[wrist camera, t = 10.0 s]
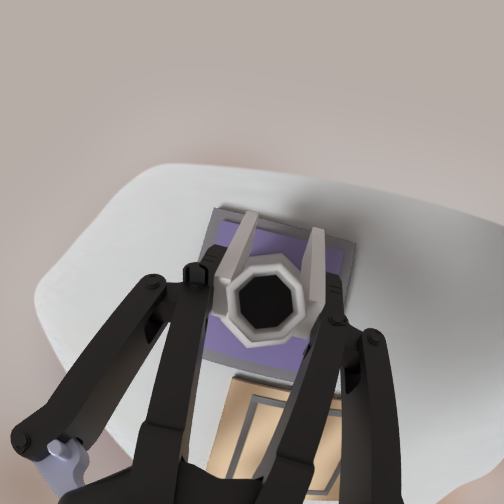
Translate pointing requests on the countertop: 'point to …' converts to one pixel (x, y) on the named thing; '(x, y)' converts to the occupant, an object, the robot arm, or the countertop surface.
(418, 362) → the countertop surface
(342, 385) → the robot arm
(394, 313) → the countertop surface
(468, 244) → the countertop surface
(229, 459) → the marked board
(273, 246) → the ink pad
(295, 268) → the flask
